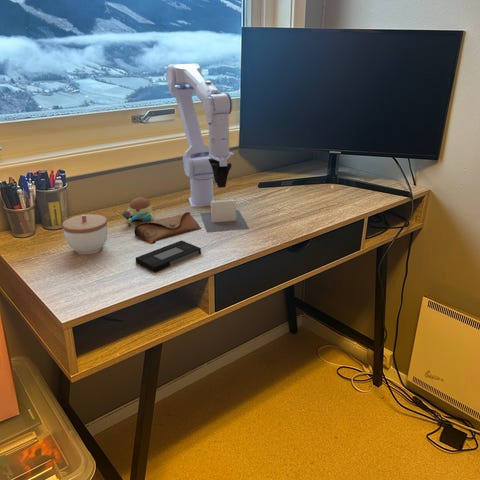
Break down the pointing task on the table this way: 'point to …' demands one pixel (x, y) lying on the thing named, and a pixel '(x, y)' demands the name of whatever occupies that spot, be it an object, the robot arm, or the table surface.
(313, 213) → the table surface
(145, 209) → the figurine
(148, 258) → the vhs tape
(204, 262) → the table surface
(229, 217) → the tile
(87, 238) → the lidded jar
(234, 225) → the mat
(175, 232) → the sunglasses case
